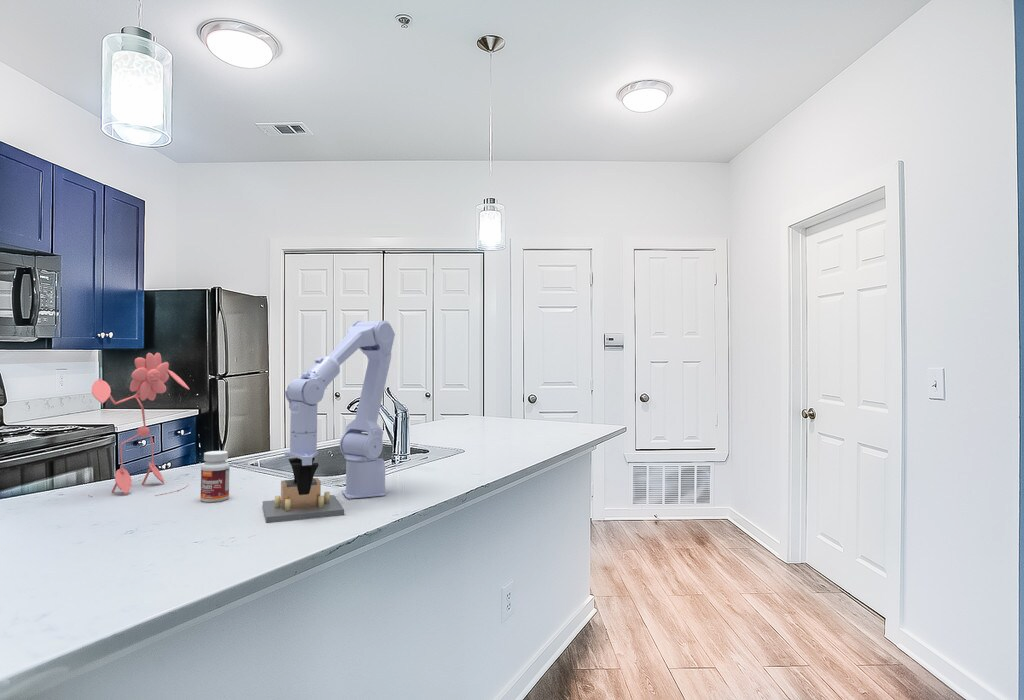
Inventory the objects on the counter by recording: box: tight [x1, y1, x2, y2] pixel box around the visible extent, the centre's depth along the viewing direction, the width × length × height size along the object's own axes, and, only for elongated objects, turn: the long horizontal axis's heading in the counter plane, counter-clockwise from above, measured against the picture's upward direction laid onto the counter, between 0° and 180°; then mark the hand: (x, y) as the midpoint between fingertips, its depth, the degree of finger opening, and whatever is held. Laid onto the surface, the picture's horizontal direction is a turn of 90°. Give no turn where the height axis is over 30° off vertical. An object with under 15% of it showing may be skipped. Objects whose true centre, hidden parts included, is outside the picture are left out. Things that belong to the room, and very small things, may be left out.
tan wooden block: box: [280, 477, 322, 510], centre depth 135 cm, size 8×5×6 cm, turn 116°
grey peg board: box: [262, 491, 345, 524], centre depth 135 cm, size 16×14×4 cm
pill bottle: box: [200, 450, 231, 503], centre depth 144 cm, size 6×6×11 cm
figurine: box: [88, 352, 190, 498], centre depth 152 cm, size 15×26×35 cm, turn 167°
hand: (302, 491), depth 135 cm, fingers open, 5 cm apart
